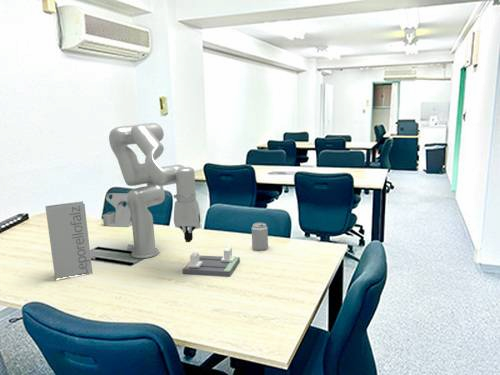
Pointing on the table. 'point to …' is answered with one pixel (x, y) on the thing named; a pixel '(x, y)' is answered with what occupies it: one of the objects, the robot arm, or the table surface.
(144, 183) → the robot arm
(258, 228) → the can
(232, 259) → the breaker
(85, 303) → the table surface
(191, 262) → the breaker
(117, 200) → the phone holder
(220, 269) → the slider switch panel
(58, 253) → the brochure
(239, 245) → the table surface
